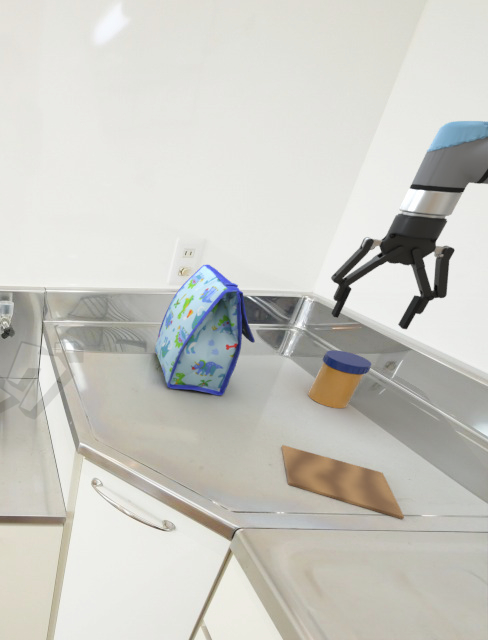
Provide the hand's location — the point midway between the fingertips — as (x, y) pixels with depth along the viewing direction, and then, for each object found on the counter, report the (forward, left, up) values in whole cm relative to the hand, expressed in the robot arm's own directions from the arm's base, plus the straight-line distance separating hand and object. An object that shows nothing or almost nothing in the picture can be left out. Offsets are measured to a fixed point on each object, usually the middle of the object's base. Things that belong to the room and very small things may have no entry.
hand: (367, 321), depth 92 cm
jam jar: (0, 0, -20) cm, 20 cm away
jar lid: (0, 0, -9) cm, 9 cm away
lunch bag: (+31, +4, -20) cm, 37 cm away
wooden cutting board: (+4, +34, -20) cm, 40 cm away
